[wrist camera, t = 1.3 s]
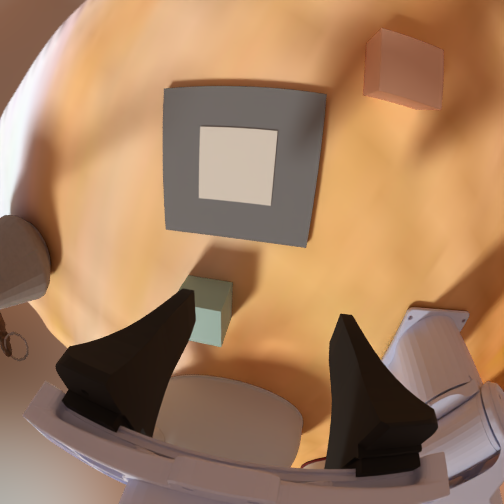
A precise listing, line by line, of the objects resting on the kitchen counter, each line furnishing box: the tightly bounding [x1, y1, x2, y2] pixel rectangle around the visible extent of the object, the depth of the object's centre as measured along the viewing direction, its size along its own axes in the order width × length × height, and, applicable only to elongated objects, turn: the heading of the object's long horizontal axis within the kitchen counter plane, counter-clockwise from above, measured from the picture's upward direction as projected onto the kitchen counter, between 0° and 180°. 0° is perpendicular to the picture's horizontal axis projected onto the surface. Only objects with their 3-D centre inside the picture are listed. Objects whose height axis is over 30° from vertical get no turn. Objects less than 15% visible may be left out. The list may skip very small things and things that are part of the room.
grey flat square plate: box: [163, 86, 327, 248], centre depth 18 cm, size 11×11×1 cm
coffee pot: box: [0, 215, 51, 361], centre depth 19 cm, size 21×12×15 cm, turn 94°
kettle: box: [152, 375, 303, 468], centre depth 26 cm, size 25×23×22 cm
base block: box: [178, 275, 233, 347], centre depth 23 cm, size 4×4×4 cm
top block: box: [363, 28, 444, 110], centre depth 12 cm, size 4×4×4 cm
